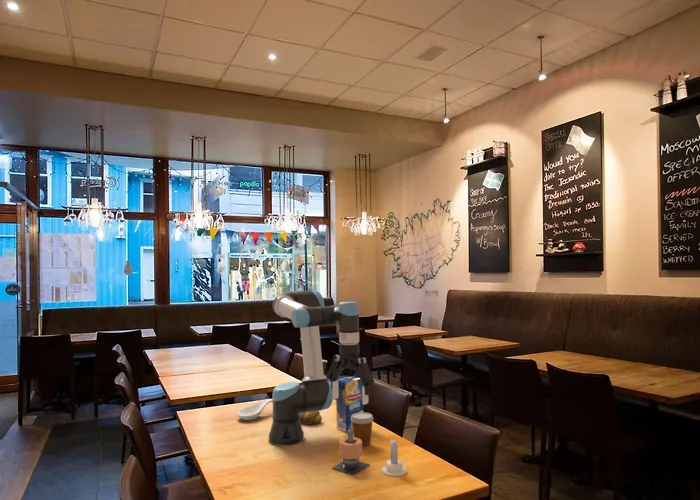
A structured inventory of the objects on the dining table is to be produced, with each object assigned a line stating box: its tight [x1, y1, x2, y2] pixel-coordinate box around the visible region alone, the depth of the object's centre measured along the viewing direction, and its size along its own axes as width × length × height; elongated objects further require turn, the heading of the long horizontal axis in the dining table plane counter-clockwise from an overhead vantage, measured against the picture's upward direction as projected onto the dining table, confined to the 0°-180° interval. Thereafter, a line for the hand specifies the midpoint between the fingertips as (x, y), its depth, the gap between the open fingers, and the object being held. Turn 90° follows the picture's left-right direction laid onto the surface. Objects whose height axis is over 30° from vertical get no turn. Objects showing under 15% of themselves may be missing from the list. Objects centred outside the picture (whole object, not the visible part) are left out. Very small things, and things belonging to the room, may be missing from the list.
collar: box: [338, 436, 363, 460], centre depth 173 cm, size 8×8×5 cm
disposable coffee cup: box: [351, 412, 375, 448], centre depth 195 cm, size 10×10×12 cm
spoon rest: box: [236, 398, 273, 421], centre depth 236 cm, size 24×12×7 cm, turn 135°
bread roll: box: [300, 411, 323, 425], centre depth 225 cm, size 13×10×8 cm
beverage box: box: [335, 375, 365, 433], centre depth 217 cm, size 7×11×22 cm, turn 133°
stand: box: [331, 429, 371, 476], centre depth 173 cm, size 10×10×14 cm
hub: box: [381, 439, 408, 478], centre depth 169 cm, size 9×9×10 cm
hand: (350, 401), depth 174 cm, fingers open, 13 cm apart
